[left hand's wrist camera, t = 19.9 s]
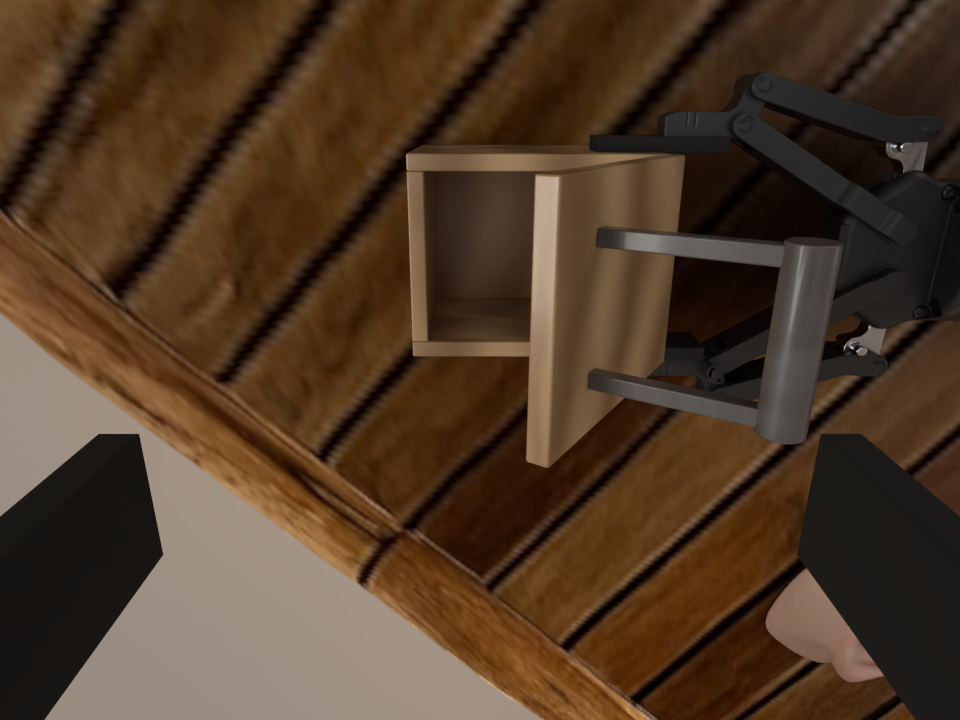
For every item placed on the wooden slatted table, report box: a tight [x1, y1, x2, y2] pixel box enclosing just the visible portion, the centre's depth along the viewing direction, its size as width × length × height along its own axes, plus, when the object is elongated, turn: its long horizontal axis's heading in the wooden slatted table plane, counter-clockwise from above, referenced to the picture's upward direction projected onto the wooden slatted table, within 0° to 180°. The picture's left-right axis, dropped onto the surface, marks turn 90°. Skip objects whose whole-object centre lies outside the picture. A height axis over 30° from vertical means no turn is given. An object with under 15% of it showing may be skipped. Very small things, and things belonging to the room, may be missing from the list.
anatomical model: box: [766, 568, 884, 682], centre depth 50 cm, size 13×4×12 cm
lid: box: [526, 154, 844, 468], centre depth 25 cm, size 13×10×9 cm
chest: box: [406, 145, 672, 356], centre depth 38 cm, size 13×10×10 cm
